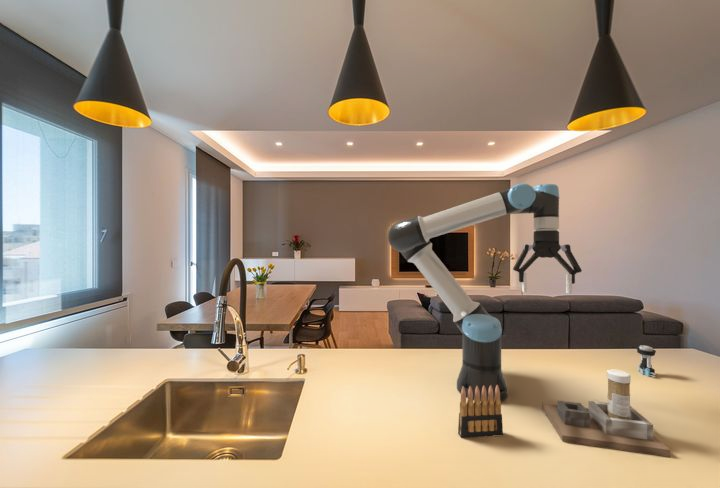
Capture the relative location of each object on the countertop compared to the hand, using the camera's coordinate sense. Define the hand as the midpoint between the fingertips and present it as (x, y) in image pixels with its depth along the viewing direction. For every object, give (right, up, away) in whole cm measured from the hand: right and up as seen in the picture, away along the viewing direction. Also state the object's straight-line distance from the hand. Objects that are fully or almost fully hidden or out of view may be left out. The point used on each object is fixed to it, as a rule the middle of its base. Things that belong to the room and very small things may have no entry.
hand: (546, 292), depth 108 cm
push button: (+41, -31, +7) cm, 52 cm away
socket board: (-3, -30, -27) cm, 41 cm away
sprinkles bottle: (+1, -29, -29) cm, 41 cm away
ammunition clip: (-34, -31, -30) cm, 54 cm away
